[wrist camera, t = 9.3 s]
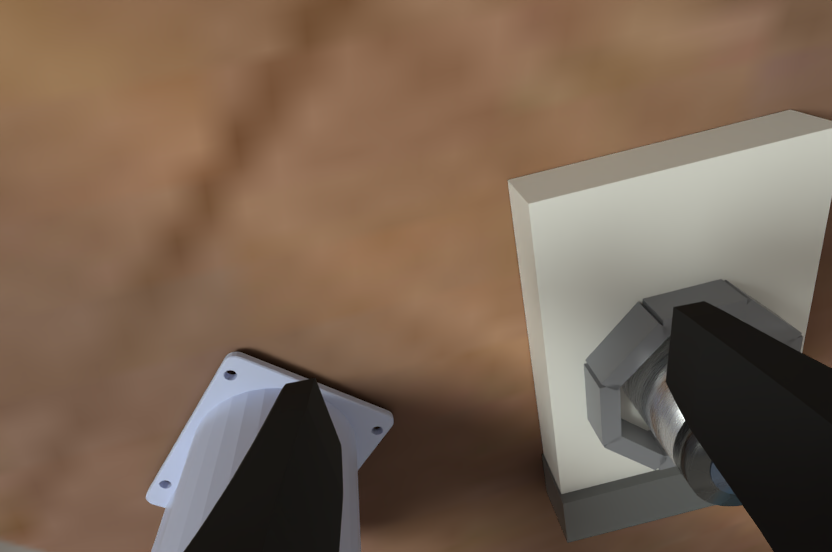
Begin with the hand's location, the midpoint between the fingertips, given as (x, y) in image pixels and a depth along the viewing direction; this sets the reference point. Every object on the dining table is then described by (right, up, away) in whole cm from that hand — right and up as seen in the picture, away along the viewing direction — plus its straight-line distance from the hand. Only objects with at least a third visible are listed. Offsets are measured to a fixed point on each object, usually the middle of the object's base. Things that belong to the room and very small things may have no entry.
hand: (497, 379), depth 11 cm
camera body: (+9, -1, +14) cm, 16 cm away
